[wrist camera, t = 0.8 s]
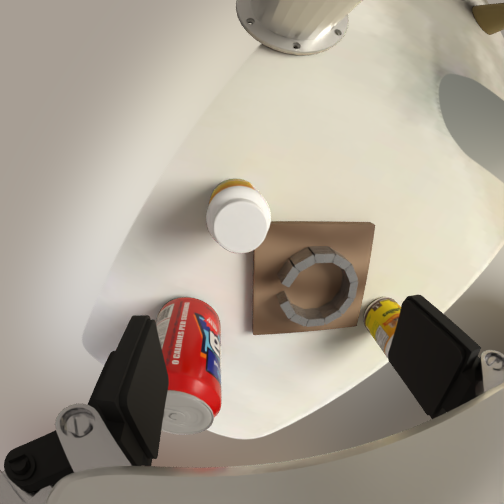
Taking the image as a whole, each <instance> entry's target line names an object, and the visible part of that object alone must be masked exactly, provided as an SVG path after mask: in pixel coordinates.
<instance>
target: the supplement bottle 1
mask: <svg viewBox="0 0 504 504" xmlns="http://www.w3.org/2000/svg"><path fill="white" fill-rule="evenodd" d="M206 222H207V227H208V230H209V232H210V234H211V236H212V237H213V238H214V240H215V241H216V242H217V243H219V244H220V245H221V246H222V247H223V248H224V249H226V250H228V251H230V252H233V253H247V252H250V251H253V250H254V249H256V248H257V247H259V246H260V245H261V243H262V242H263V241H264V239H265V237H266V234H267V232H268V230H269V227H270V223H271V213H270V209H269V206H268V204H267V202H266V200H265V199H264V197H263V196H262V195H261V193H260V192H259V191H258V190H257V189H256V188H255V187H254V186H253V185H252V184H251V183H249V182H248V181H245V180H242V179H229V180H226V181H224V182H222V183H221V184H219V185H218V186H217V187H216V188H215V190H214V191H213V193H212V195H211V198H210V202H209V205H208V209H207V213H206Z"/></svg>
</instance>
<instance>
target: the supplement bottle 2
mask: <svg viewBox="0 0 504 504" xmlns="http://www.w3.org/2000/svg"><path fill="white" fill-rule="evenodd" d="M400 310H401V307H400V306H399V305H398V304H397V302H395V301H394V300H393V299H392V298H389V297H382V298H379V299H377V300H375V301H374V302H372V303H371V304H370V305H369V306H368V308H367V309H366V311H365V314H364V324H365V326H366V328H367V329H368V331H369V332H370V334H371V335H372V336H373V338H374V339H375V341H376V342H377V344H378V345H379V346H380V348H381V349H382V351H383V352H384V354H385V355H386V357H387V358H388V352H389V349H390V346H391V342H392V339H393V336H394V332H395V329H396V325H397V322H398V318H399V314H400Z"/></svg>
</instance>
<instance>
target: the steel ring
mask: <svg viewBox="0 0 504 504" xmlns="http://www.w3.org/2000/svg"><path fill="white" fill-rule="evenodd" d="M315 263H334V264H335V265H337V266H339V267H340V269H341V272H342V274H343V275H342V281H341V287H340V289H339V291H338V292H337V294H336V295H335V296H334V298H333V299H332V300H331V301H329V302H328V303H326V304H324V305H322V306H321V307H319V308H309V309H303V308H301V307H299V306H296V305H294V304H292V303H291V302H290V300H289V298H288V297H287V295H286V293H285V292H284V291H282V292H280V293H278V294H276V295H277V298H278V301H279V304H280V306H281V308H282V309H283V311H284V313H285V314H286V316H287V317H288V319H290V320H291V321H293V322H295V323H298V324H300V325H302V326H306V327H311V326H322V325H324V324H328V323H330V322H332V321H334V320H335V319H337V318H339V317H341V316H342V314H344V313H345V312H346V310H347V309H348V308H349V307H350V305H351V304H352V303H353V301H354V299H353V298H355V297H356V292H357V286H358V278H357V275H356V273H355V270H354V268H353V265H352V264H351V263H350V262H349V261H348V260H347V259H346V258H345V257H344V256H343V255H342V254H340V253H339V252H337V251H335V250H334V249H332V248H330V247H328V246H309V247H308V248H307V247H306V248H304V249H302V250H300V251H299V252H297V253H295V254H293V255H292V256H290V259H289V258H288V259H287V260H286V262H285V263H284V265H283V266H282V268H281V269H280V271H279V272H278V274H277V275H278V277H279V279H280V282H281V284H283V285H285V286H287V287H290V286H291V284H292V283H293V281H294V280H295V279H296V277H297V276H298V274H299V273H300V272H301V271H303V270H305V269H306V268H308V267H310V266H312V265H313V264H315Z"/></svg>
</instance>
